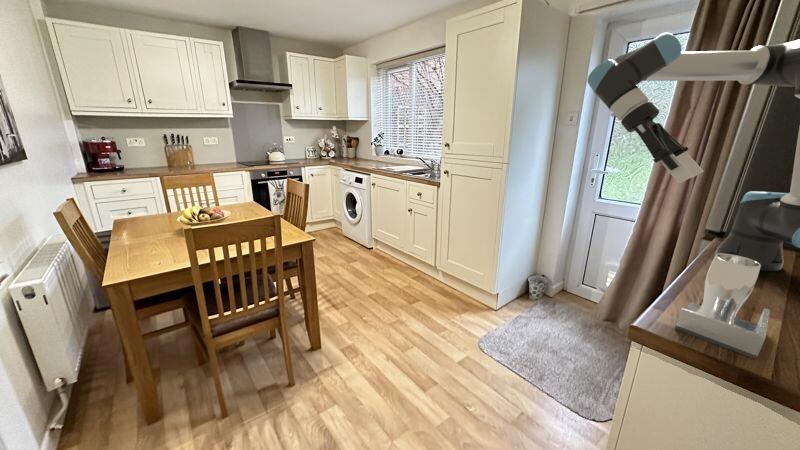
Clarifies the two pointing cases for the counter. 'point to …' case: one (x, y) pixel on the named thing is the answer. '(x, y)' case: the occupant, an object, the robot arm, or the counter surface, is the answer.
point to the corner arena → (725, 330)
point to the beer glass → (728, 286)
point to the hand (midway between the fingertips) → (692, 177)
